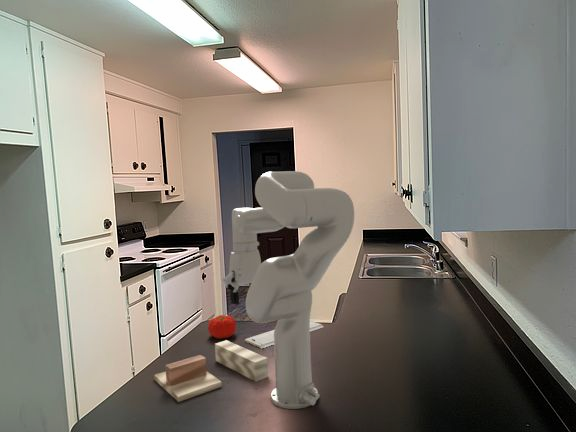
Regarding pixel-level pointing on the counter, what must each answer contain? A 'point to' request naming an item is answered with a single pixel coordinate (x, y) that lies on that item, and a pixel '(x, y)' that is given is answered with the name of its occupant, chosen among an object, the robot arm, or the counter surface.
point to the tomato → (222, 326)
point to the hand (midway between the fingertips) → (247, 300)
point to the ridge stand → (187, 378)
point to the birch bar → (242, 360)
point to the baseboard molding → (268, 337)
